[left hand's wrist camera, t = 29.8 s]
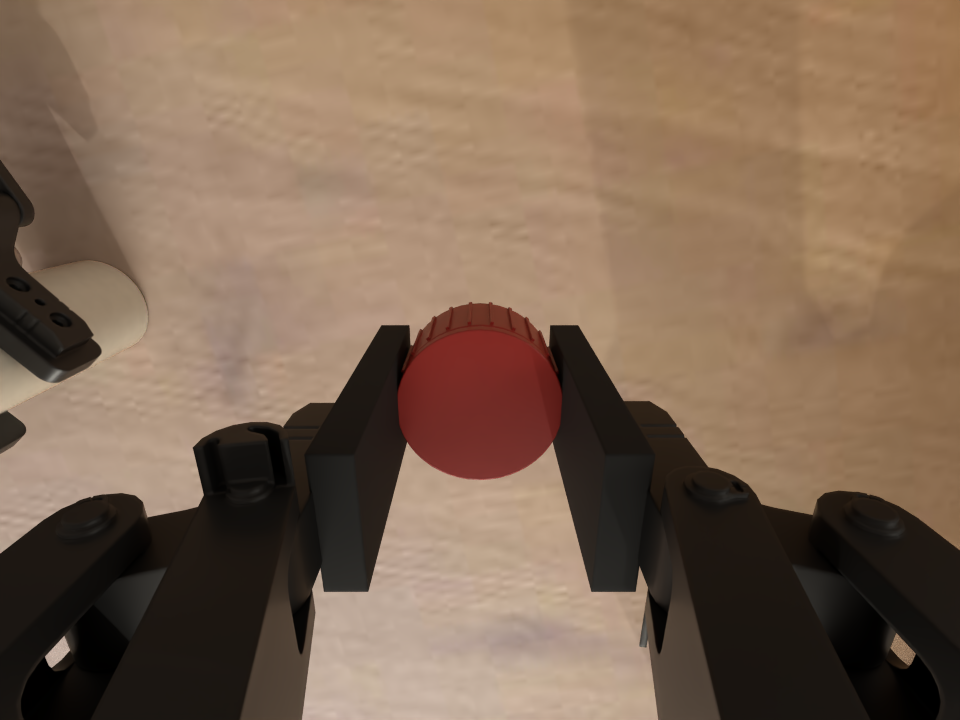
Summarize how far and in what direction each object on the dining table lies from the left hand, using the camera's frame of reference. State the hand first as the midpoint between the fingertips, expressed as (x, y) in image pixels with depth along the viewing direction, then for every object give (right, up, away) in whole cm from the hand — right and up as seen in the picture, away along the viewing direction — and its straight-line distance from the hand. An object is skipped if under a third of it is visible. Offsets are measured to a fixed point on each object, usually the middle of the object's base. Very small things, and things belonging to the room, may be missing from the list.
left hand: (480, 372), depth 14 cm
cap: (0, -1, -2) cm, 2 cm away
